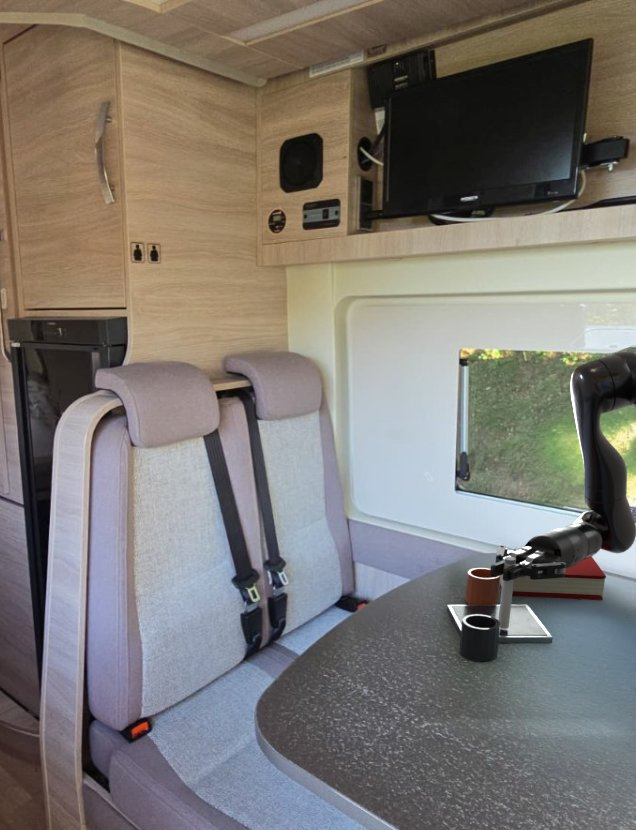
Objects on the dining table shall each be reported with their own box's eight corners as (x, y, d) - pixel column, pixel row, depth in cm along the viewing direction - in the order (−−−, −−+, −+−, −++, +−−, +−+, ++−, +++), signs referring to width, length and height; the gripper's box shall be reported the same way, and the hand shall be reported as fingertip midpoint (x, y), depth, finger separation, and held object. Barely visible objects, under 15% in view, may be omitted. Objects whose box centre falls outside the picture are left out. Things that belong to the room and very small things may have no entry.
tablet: (526, 609, 138) (527, 603, 138) (552, 642, 125) (553, 636, 125) (446, 609, 140) (447, 604, 139) (463, 642, 127) (464, 636, 126)
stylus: (507, 624, 129) (514, 556, 124) (509, 628, 127) (517, 560, 123) (496, 624, 129) (503, 556, 125) (499, 628, 128) (506, 560, 123)
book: (586, 576, 152) (589, 553, 151) (602, 599, 141) (606, 576, 139) (495, 572, 156) (497, 550, 155) (503, 595, 145) (506, 572, 143)
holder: (491, 645, 125) (494, 614, 123) (501, 662, 120) (504, 629, 118) (456, 645, 126) (458, 614, 124) (464, 661, 120) (466, 629, 118)
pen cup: (492, 595, 145) (495, 567, 143) (501, 607, 140) (504, 578, 137) (462, 595, 146) (464, 567, 144) (469, 607, 140) (471, 579, 138)
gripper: (524, 522, 136) (466, 543, 127) (596, 540, 125) (538, 563, 116) (520, 559, 139) (463, 582, 129) (590, 580, 128) (533, 606, 119)
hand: (499, 573), depth 123 cm, fingers closed on stylus, 2 cm apart
